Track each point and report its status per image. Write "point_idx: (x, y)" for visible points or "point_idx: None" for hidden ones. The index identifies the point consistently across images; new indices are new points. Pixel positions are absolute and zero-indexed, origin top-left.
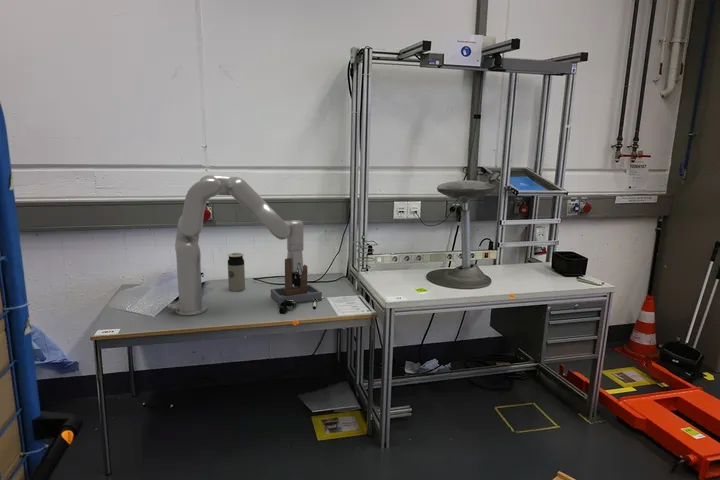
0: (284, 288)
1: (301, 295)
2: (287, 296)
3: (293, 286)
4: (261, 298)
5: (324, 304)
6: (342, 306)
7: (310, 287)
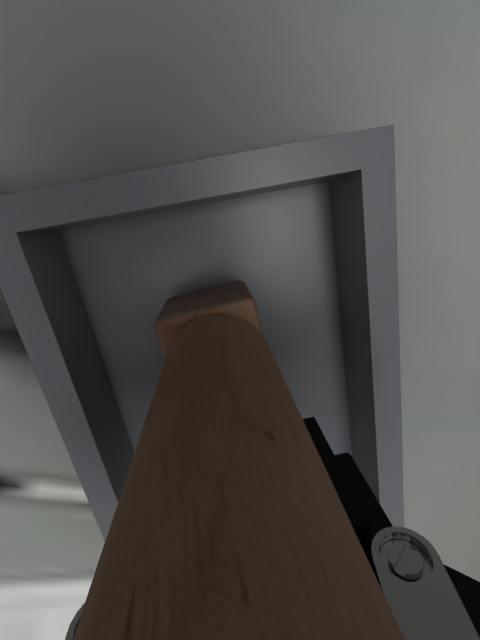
0: (245, 308)
1: (73, 454)
2: (24, 309)
3: (394, 412)
4: (336, 32)
5: (55, 548)
6: (2, 634)
7: None
